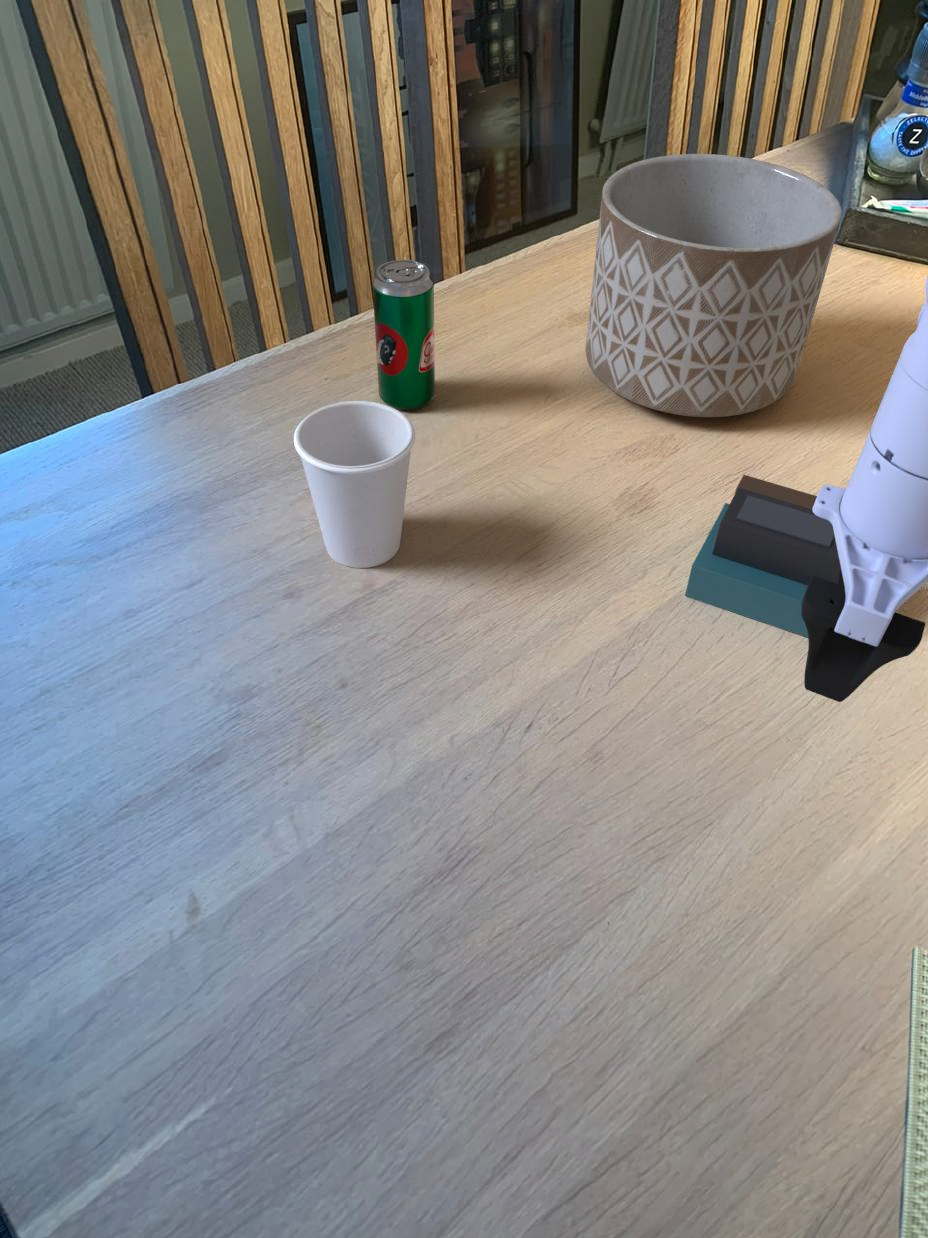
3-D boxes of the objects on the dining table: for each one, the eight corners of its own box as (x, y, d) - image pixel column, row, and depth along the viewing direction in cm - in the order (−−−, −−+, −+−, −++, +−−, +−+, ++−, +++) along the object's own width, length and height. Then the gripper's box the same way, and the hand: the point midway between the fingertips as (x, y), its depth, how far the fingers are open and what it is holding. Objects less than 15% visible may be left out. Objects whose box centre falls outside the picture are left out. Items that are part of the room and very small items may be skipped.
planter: (694, 460, 83) (734, 273, 72) (541, 364, 94) (554, 188, 82) (834, 384, 92) (890, 206, 80) (680, 304, 103) (709, 137, 91)
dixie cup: (300, 517, 77) (286, 407, 70) (405, 501, 79) (401, 392, 72) (316, 588, 72) (302, 477, 65) (429, 570, 73) (427, 459, 66)
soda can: (434, 414, 88) (432, 286, 79) (377, 413, 88) (369, 284, 79) (436, 383, 91) (434, 257, 83) (381, 382, 91) (374, 256, 83)
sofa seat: (837, 648, 68) (857, 601, 65) (684, 596, 72) (695, 549, 68) (867, 562, 74) (886, 516, 71) (725, 518, 78) (737, 472, 75)
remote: (853, 557, 70) (866, 523, 68) (839, 596, 67) (853, 561, 65) (730, 519, 73) (739, 484, 71) (711, 554, 70) (720, 520, 68)
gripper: (877, 349, 51) (801, 545, 61) (809, 505, 42) (733, 706, 52) (1020, 389, 49) (918, 585, 59) (981, 562, 40) (868, 760, 50)
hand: (840, 645), depth 55 cm, fingers open, 7 cm apart
